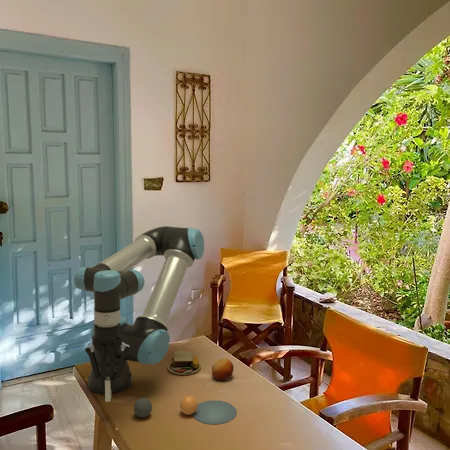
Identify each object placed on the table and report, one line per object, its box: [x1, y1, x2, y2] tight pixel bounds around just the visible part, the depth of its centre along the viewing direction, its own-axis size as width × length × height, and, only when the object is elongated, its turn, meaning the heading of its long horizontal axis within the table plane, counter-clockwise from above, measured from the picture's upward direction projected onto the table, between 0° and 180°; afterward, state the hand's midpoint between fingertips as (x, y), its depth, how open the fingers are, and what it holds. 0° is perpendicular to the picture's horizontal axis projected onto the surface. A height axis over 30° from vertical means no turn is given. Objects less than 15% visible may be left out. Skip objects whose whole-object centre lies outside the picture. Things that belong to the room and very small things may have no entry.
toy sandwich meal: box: [167, 350, 202, 376], centre depth 177 cm, size 12×14×5 cm
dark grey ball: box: [133, 397, 153, 418], centre depth 142 cm, size 6×6×6 cm
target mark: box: [191, 399, 238, 425], centre depth 145 cm, size 14×14×1 cm
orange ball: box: [179, 395, 199, 416], centre depth 144 cm, size 6×6×6 cm
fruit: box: [211, 358, 235, 382], centre depth 169 cm, size 8×8×8 cm
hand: (108, 399), depth 140 cm, fingers closed
